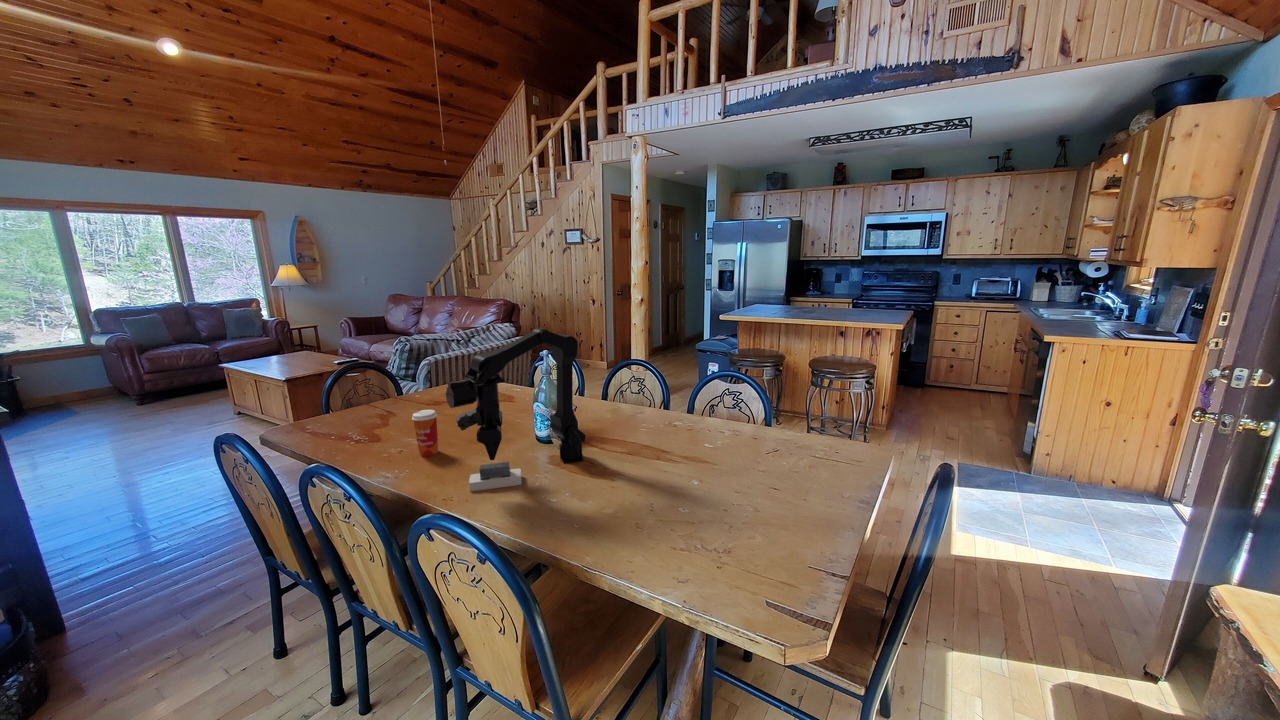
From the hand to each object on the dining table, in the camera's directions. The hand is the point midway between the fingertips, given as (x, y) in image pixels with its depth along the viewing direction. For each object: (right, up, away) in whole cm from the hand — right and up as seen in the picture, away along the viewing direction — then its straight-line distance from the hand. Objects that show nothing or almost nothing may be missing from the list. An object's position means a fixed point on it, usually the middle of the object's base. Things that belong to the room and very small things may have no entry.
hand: (492, 453), depth 137 cm
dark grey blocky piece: (0, -9, +2) cm, 9 cm away
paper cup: (-29, -5, +25) cm, 38 cm away
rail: (0, -9, +2) cm, 9 cm away
